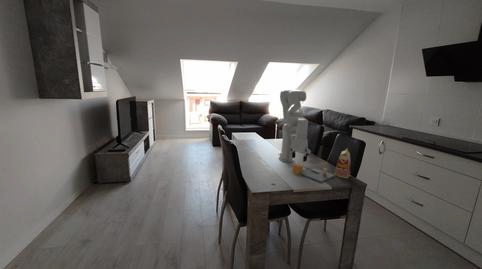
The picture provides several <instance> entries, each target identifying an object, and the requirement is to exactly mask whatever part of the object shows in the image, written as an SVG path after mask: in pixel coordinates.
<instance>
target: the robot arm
mask: <svg viewBox="0 0 482 269" xmlns="http://www.w3.org/2000/svg"><path fill="white" fill-rule="evenodd" d="M279 99H280V104H281V106H282V115H283V121H284V123H283V125H282V142H281V143H282V144H281V152H278V156H279V157H278V159H279V160H280V161H281V162H285V163H292V162H295V158H296V154H297V153H299V154H303V159H302V162H307V160H308V156H309V155H310V154H311V153H312V150H310V148H308V145H309V143H308V128H309V127H308V126H309V120H308V119H307V118H305V117H304V115H303V113H302V111H299V110H301V108H302V105H301V102H305V101H307V92H306V91H305V90H302V89H282V90H281V91H280V94H279ZM293 136H294V137H293Z"/></svg>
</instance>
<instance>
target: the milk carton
mask: <svg viewBox="0 0 482 269" xmlns="http://www.w3.org/2000/svg"><path fill="white" fill-rule="evenodd" d="M333 175H335V177H336V176H337V177H338V178H339V177H340V178H344V179H348V178H349V177H350V176H351V152H350V151H349V150H348V148H346V149H345V150H342V151H341V153H340V155H339V156H338V160H337V164H336V166H335V171H334V173H333Z"/></svg>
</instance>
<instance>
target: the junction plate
mask: <svg viewBox="0 0 482 269" xmlns="http://www.w3.org/2000/svg"><path fill="white" fill-rule="evenodd" d="M300 176H302V177H305V178H307V177H308V179H311V180H312V179H313V181H315V182H317V181H318V182H317V183H320V184H322V183H324V182H327V181H329V180H331V179H333V178H335V177H336V175H334V173H331V172H328V168H326V167H324V168H323V170H322V169H320V168H316V167H315V168H312V169H309V170H307V171H302V173H301V174H300Z"/></svg>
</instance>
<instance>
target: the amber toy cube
mask: <svg viewBox="0 0 482 269" xmlns="http://www.w3.org/2000/svg"><path fill="white" fill-rule="evenodd" d="M303 168H304V165H303V164H300V163H294V164H292V172H291V173H293V174H295V175H301V173H303Z"/></svg>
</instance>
